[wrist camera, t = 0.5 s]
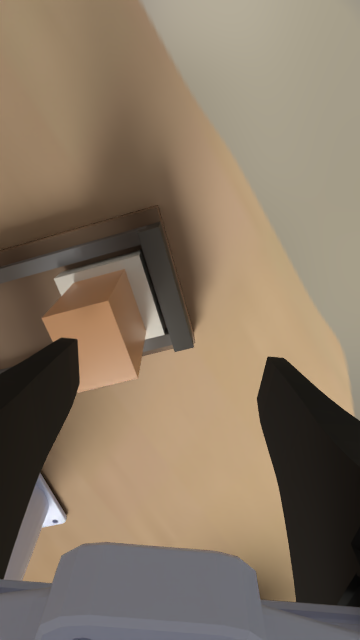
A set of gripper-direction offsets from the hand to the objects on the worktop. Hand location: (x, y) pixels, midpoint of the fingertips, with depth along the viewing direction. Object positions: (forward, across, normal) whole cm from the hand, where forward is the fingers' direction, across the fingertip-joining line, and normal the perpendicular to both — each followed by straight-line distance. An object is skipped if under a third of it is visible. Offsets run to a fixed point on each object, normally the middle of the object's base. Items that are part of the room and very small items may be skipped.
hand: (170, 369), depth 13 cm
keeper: (+9, +4, +1) cm, 9 cm away
